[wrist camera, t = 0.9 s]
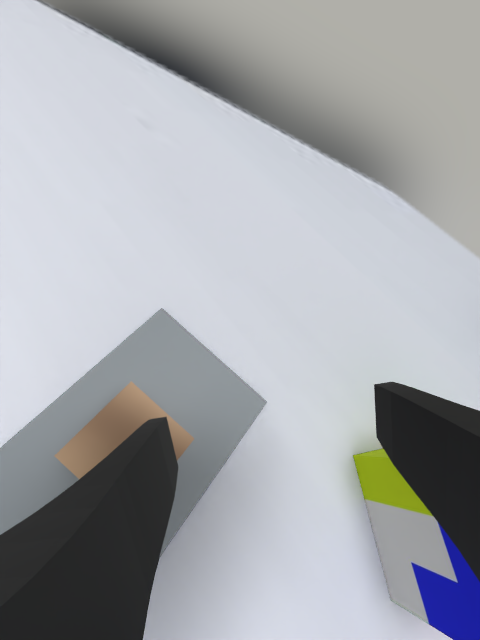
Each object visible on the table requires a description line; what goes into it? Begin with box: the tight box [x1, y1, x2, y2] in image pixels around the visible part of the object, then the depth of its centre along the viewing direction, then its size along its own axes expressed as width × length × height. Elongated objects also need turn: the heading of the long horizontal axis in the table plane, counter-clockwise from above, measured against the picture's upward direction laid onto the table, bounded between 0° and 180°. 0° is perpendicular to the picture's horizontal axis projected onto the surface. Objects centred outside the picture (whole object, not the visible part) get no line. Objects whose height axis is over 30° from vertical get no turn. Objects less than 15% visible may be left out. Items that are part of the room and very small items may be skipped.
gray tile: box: [0, 308, 267, 556], centre depth 20 cm, size 18×12×1 cm, turn 142°
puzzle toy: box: [353, 449, 480, 640], centre depth 21 cm, size 10×10×10 cm
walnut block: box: [55, 381, 194, 479], centre depth 18 cm, size 5×5×5 cm
